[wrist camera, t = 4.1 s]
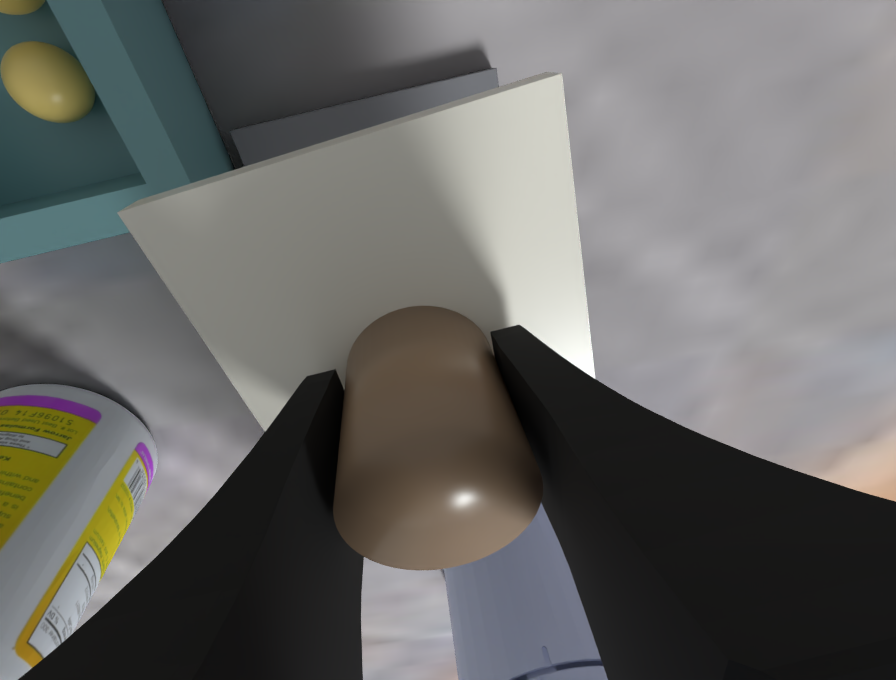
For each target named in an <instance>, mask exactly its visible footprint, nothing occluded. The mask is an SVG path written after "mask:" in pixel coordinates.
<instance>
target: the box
mask: <svg viewBox="0 0 896 680" xmlns="http://www.w3.org/2000/svg"><path fill="white" fill-rule="evenodd" d="M232 170H235V169H234V166H233V164H232V162H231V159H230V157H229V155H228V153H227V150H226V148H225V146H224V143H223V141H222V139H221V136H220V134H219V132H218V130H217V127H216V125H215V123H214V120H213V118H212V116H211V113H210V111H209V109H208V107H207V104H206V102H205V100H204V97H203V95H202V93H201V90H200V88H199V86H198V84H197V81H196V79H195V77H194V74H193V72H192V70H191V67H190V65H189V63H188V61H187V58H186V56H185V54H184V51H183V49H182V47H181V44H180V42H179V40H178V38H177V35H176V33H175V31H174V28H173V26H172V24H171V22H170V19H169V17H168V15H167V12H166V10H165V8H164V5H163V3H162V1H161V0H0V263H4V262H8V261H13V260H17V259H21V258H25V257H29V256H34V255H38V254H42V253H46V252H50V251H54V250H59V249H63V248H67V247H71V246H75V245H80V244H84V243H88V242H92V241H96V240H100V239H105V238H109V237H113V236H117V235H121V234H125V233H130V231H129V230H128V228H127V227H126V225H125V224H124V222H123V221H122V219H121V218H120V216H119V215H118V213H117V212H119V211H121V210H122V209H124V208H126V207H127V206H129V205H131V204H132V203H134V202H136V201H137V200H140V199H143V198H146V197H149V196H152V195H156V194H159V193H162V192H165V191H168V190H172V189H175V188H178V187H181V186H184V185H188V184H191V183H194V182H197V181H200V180H204V179H207V178H210V177H213V176H216V175H220V174H223V173H226V172H229V171H232Z"/></svg>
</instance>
